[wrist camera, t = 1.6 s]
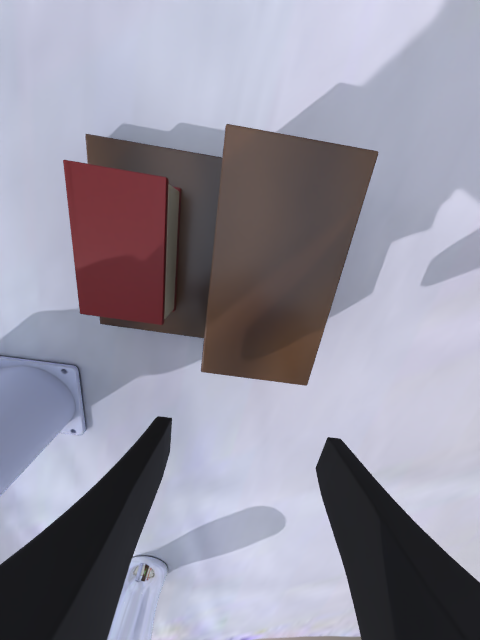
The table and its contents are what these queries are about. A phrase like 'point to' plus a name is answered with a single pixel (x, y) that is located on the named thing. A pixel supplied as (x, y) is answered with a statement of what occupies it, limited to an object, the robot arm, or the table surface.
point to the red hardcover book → (124, 241)
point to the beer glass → (138, 599)
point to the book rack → (254, 243)
